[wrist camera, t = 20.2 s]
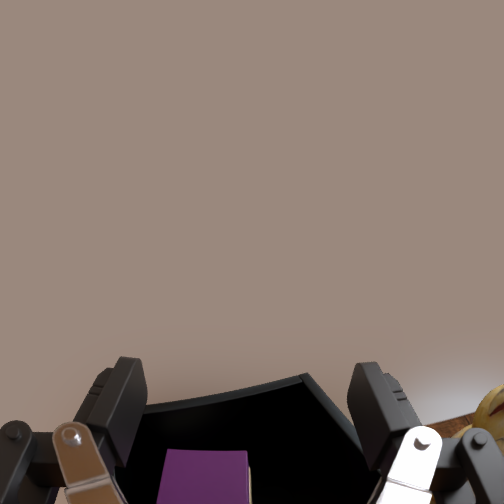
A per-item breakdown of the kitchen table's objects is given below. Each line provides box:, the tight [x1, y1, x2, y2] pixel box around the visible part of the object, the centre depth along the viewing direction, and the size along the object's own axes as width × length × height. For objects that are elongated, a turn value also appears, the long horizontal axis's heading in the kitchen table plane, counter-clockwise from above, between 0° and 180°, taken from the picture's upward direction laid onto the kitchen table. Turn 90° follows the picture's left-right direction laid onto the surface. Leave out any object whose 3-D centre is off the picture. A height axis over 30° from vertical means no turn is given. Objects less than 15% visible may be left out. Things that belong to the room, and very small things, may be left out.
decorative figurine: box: [429, 384, 504, 504], centre depth 15 cm, size 10×8×15 cm
